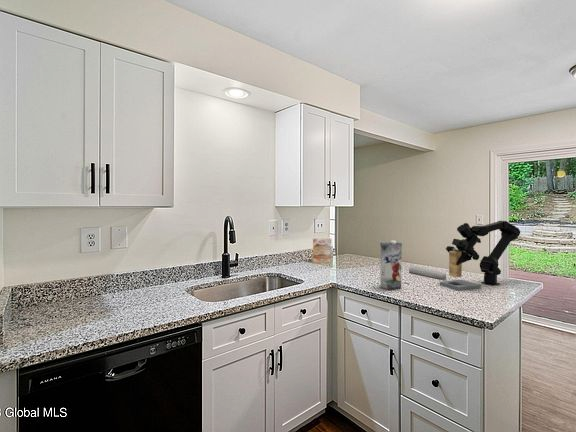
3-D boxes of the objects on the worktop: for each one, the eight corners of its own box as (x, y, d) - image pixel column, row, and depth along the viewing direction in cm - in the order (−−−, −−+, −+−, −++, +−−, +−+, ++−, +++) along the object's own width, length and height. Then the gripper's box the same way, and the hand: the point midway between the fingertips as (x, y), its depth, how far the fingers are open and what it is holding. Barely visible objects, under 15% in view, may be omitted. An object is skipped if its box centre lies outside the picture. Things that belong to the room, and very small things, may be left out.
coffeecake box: (313, 262, 252) (312, 239, 251) (313, 261, 259) (313, 238, 258) (331, 263, 249) (331, 239, 249) (331, 261, 256) (331, 238, 256)
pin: (455, 275, 176) (455, 250, 176) (461, 276, 172) (461, 251, 171) (449, 275, 175) (449, 251, 174) (455, 277, 171) (455, 252, 170)
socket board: (461, 282, 183) (461, 279, 183) (480, 288, 171) (480, 284, 171) (439, 285, 179) (439, 281, 179) (458, 290, 166) (458, 287, 166)
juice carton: (378, 287, 175) (378, 240, 174) (392, 285, 179) (392, 239, 179) (388, 291, 167) (389, 241, 166) (403, 288, 171) (404, 240, 170)
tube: (448, 273, 192) (414, 266, 214) (444, 271, 190) (409, 264, 212) (447, 281, 192) (413, 273, 213) (442, 280, 189) (408, 272, 211)
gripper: (448, 232, 183) (432, 251, 180) (475, 235, 165) (459, 256, 162) (458, 245, 185) (443, 264, 182) (486, 249, 167) (470, 270, 165)
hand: (453, 263), depth 173 cm, fingers closed on pin, 4 cm apart
